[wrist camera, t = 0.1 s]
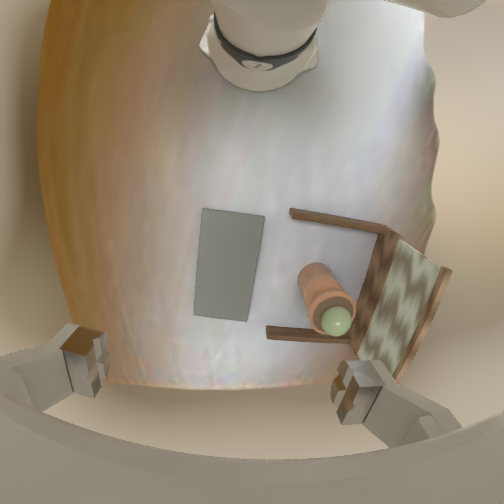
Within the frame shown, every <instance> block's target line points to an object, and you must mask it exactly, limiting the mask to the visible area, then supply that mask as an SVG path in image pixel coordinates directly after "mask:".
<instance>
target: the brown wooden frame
mask: <svg viewBox="0 0 504 504" xmlns="http://www.w3.org/2000/svg"><path fill="white" fill-rule="evenodd" d="M289 214H290V216H291V217H292V219H299V220H305V221H312V222H318V223H324V224H330V225H336V226H342V227H348V228H353V229H359V230H365V231H370V232H376V233H378V237H377V240H376V244H375V247H374V251H373V254H372V258H371V261H370V265H369V268H368V271H367V274H366V278H365V281H364V284H363V287H362V290H361V293H360V296H359V299H358V302H357V305H356V315H355V318H354V320H353V321H352V323H351V327H350V329H349V330H348V331H347V332H346V333H345V334H343V335H341V336H331V335H325V334H321V333H318V332H316V331H315V330H314V329H302V328H288V327H276V326H266V336H267V339H272V340H285V341H300V342H320V343H350V345H351V347H352V349H353V351H354V353H355V355H356V356H359V358H360V360H361V361H365V360H378V359H379V360H381V361H382V362H383V364H384V365H385V367H386V368H387V369H388V371H389V372H390V374H391V375H392V377H393V378H394V379H395V381H396V382H397V384H399V383H400V381H401V379H402V377H403V375H404V374H405V372H406V370H407V369H408V367H409V365H410V363H411V362H412V360H413V358H414V356H415V354H416V352H417V350H418V348H419V346H420V344H421V343H422V341H423V338H424V337H425V335H426V332H427V330H428V328H429V326H430V324H431V321H432V320H433V318H434V315H435V313H436V311H437V309H438V306H439V304H440V301H441V299H442V297H443V294H444V292H445V289H446V287H447V284H448V281H449V279H450V276H451V273H452V270H450V269H449V268H447V267H442V266H441V268H440V267H439V266H438V265H436V264H435V263H434V262H432V261H431V260H429V259H428V258H427V257H425V256H424V255H423V254H421V253H420V252H419V251H417V250H416V249H414V248H413V247H411V246H410V245H409V244H407V243H406V242H404V241H403V239H404V237H403V236H401V235H400V234H398V233H397V232H395V231H394V230H392V229H391V228H389V227H387V226H386V225H382V224H377V223H372V222H367V221H362V220H356V219H351V218H346V217H340V216H335V215H329V214H323V213H317V212H311V211H305V210H299V209H293V208H290V213H289Z"/></svg>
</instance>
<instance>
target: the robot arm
mask: <svg viewBox="0 0 504 504" xmlns="http://www.w3.org/2000/svg"><path fill="white" fill-rule="evenodd" d="M208 1H210V2H211V4H212V6H213V8H214V14H211V15H210V18H209V24H208V26H207V28H206V31H205V33H204V35H203V37H202V39H201V41H200V44H199V47H200V50H201V51H202V52H203V53H204V54H205V55H207V56H208V57H210V58H211V59H212V60H213V62H214V63H215V65H216V67H217V69H218V71H219V72H220V73H221V75H222V76H223V77H224V78H225V79H226V80H228V81H229V82H230V83H232V84H233V85H235V86H237V87H240V88H242V89H246V90H250V91H270V90H274V89H278V88H280V87H283V86H284V85H286V84H288V83H289V82H291V81H292V80H293V79H294V78H295V77H296V76H297V75H298V74H300V73H301V72H303V71H306V70H310V69H312V68H314V67H315V66H316V65H317V64H318V50H317V40H316V30H317V26H318V25H319V23H320V22H321V20H322V19H323V18H324V16H325V15H326V13H327V11H328V8H329V4H330V0H208ZM384 1H388V2H392V3H396V4H399V5H402V6H406V7H409V8H412V9H416V10H419V11H422V12H426V13H429V14H432V15H435V16H438V17H443V18H451V17H456V16H460V15H463V14H466V13H468V12H470V11H472V10H474V9H476V8H477V7H479V6H480V5H481V4H483V2H485V0H384ZM107 345H108V336H107V334H106V333H105V332H101V331H98V330H94V329H90V328H87V327H83V326H79V325H76V324H72V323H67V324H66V325H65V326H64V327H63V328H62V329H61V330H60V331H59V332H58V333H57V334H56V335H55V337H54V338H53V339H52V340H51V341H50V342H49V343H48V344H47V345H46V344H41V345H37V346H34V347H30V348H27V349H24V350H21V351H17V352H14V353H10V354H7V355H4V356H0V504H504V411H503V412H500V413H498V414H496V415H494V416H491V417H489V418H487V419H484V420H482V421H479V422H477V423H474V424H472V425H469V426H466V427H463V428H462V426H461V425H460V424H459V422H458V421H457V420H456V418H455V417H454V416H453V414H452V413H451V412H450V410H449V409H447V408H445V407H443V406H441V405H439V404H437V403H435V402H433V401H431V400H430V399H428V398H426V397H424V396H422V395H420V394H418V393H416V392H414V391H412V390H411V389H409V388H407V387H405V386H403V385H398V384H397V382H396V381H395V379H394V378H393V377H392V375H391V374H390V372H389V371H388V369H387V368H386V367H385V365H384V364H383V362H382V361H381V360H379V359H378V360H365V361H342V362H341V363H340V365H339V367H338V372H339V375H338V376H337V377H336V378H335V379H334V380H333V383H332V386H331V399H332V402H333V404H334V405H336V406H337V407H338V410H337V415H338V418H339V420H340V423H341V425H349V424H363V425H364V426H365V427H366V428H367V429H368V430H369V431H371V432H372V433H373V434H374V435H375V436H376V437H378V438H379V439H380V440H381V441H382V442H384V443H385V444H386V445H387V446H388V447H389V448H388V449H383V450H378V451H372V452H367V453H359V454H352V455H344V456H335V457H325V458H310V459H284V460H265V459H262V460H261V459H239V458H225V457H214V456H205V455H197V454H189V453H183V452H176V451H171V450H165V449H159V448H155V447H150V446H145V445H141V444H137V443H133V442H129V441H125V440H121V439H117V438H113V437H110V436H106V435H103V434H100V433H97V432H94V431H91V430H88V429H85V428H82V427H79V426H76V425H74V424H71V423H68V422H66V421H63V420H61V419H58V418H56V417H53V416H51V415H48V414H46V413H44V412H42V411H44V410H46V409H48V408H49V407H51V406H53V405H54V404H56V403H58V402H60V401H61V400H63V399H65V398H66V397H68V396H70V395H71V394H73V392H75V393H77V394H81V395H84V396H88V397H92V398H95V397H96V395H97V393H98V391H99V389H100V388H101V382H100V381H101V380H103V379H105V378H106V377H107V375H108V373H109V369H110V353H109V352H108V351H107V349H106V346H107Z"/></svg>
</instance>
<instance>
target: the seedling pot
mask: <svg viewBox="0 0 504 504" xmlns="http://www.w3.org/2000/svg"><path fill="white" fill-rule="evenodd" d="M298 285H299V288H300V290H301V293H302V295H303V298H304V301H305V303H306V306H307V308H308V319H309V321H310V324H311V326H312V328H313V329H314V330H315V331H316V332H318V333H321V334H325V335H331V336H341V335H343V334H345V333H346V332H347V331H348V330H349V329H350V327H351V323H352V321H353V320H354V318H355V315H356V305H355V302H354V300H353V299H352V297H351V296H350V295H349V294H348V293H347V292H346V291H344V290H343V288H342V287H341V285H340V284H339V282H338V281H337V279H336V278H335V276H334V275H333V273H332V272H331V270H330V269H329V267H328V266H326V265H325V264H322V263H311V264H309V265H307V266H305V267H304V268H303V269H302V270H301V272H300V274H299V276H298Z"/></svg>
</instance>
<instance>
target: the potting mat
mask: <svg viewBox="0 0 504 504" xmlns="http://www.w3.org/2000/svg"><path fill="white" fill-rule="evenodd" d="M264 219H265V217H264V216H259V215H251V214H244V213H237V212H229V211H221V210H213V209H205V208H203V209H202V219H201V229H200V239H199V250H198V261H197V273H196V286H195V301H194V315H196V316H203V317H211V318H219V319H227V320H235V321H245V322H247V318H248V312H249V307H250V301H251V295H252V289H253V283H254V278H255V272H256V266H257V260H258V254H259V248H260V242H261V237H262V231H263V225H264Z"/></svg>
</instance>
